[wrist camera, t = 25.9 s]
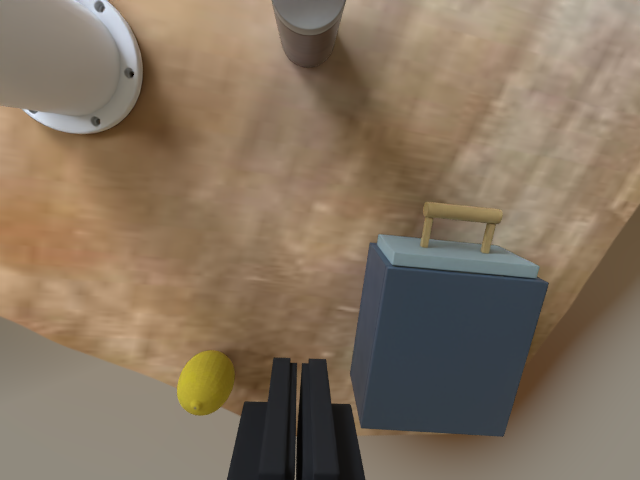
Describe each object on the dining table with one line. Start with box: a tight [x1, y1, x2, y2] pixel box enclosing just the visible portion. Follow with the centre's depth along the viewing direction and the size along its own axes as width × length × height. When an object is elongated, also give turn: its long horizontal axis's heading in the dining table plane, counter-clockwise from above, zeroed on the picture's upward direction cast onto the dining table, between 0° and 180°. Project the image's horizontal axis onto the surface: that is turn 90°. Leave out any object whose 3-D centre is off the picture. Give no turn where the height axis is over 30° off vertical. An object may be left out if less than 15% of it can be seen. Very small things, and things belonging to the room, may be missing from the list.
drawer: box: [377, 202, 539, 278], centre depth 35 cm, size 20×13×7 cm
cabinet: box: [350, 243, 549, 437], centre depth 35 cm, size 16×14×8 cm
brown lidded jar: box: [272, 0, 346, 67], centre depth 27 cm, size 5×5×10 cm
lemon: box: [177, 350, 235, 415], centre depth 36 cm, size 6×6×8 cm
